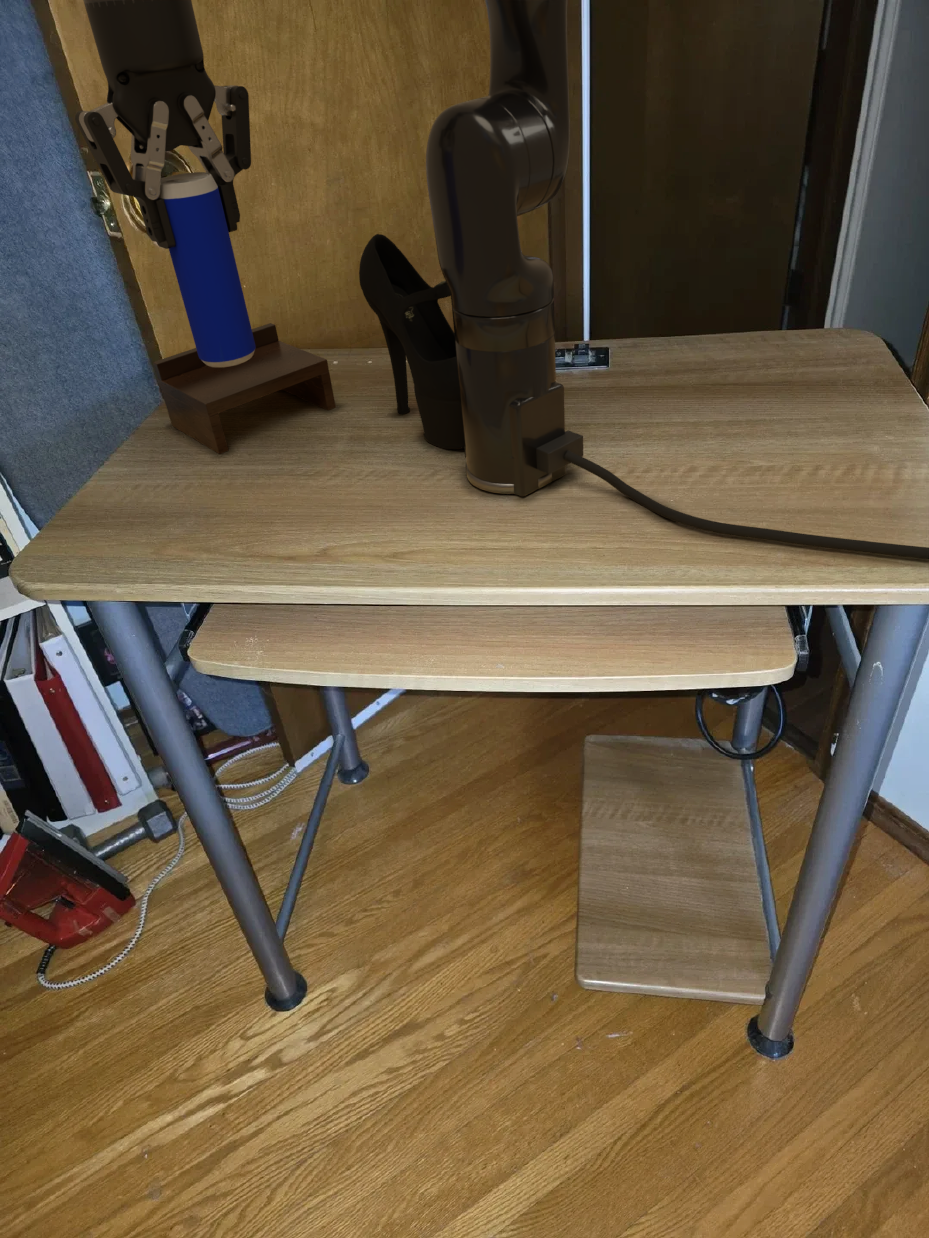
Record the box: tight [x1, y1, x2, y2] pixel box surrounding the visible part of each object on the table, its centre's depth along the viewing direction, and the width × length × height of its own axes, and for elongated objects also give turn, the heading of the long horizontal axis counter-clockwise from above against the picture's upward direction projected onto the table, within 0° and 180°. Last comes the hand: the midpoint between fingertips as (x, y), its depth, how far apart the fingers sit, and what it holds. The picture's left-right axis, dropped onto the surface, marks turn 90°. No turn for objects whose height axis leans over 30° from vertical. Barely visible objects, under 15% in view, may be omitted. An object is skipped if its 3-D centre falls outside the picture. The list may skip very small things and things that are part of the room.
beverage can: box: [159, 171, 256, 367], centre depth 76 cm, size 5×5×15 cm
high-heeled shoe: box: [358, 233, 465, 450], centre depth 94 cm, size 8×19×20 cm, turn 39°
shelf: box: [152, 322, 337, 455], centre depth 105 cm, size 12×16×8 cm
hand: (198, 237), depth 74 cm, fingers closed on beverage can, 5 cm apart
